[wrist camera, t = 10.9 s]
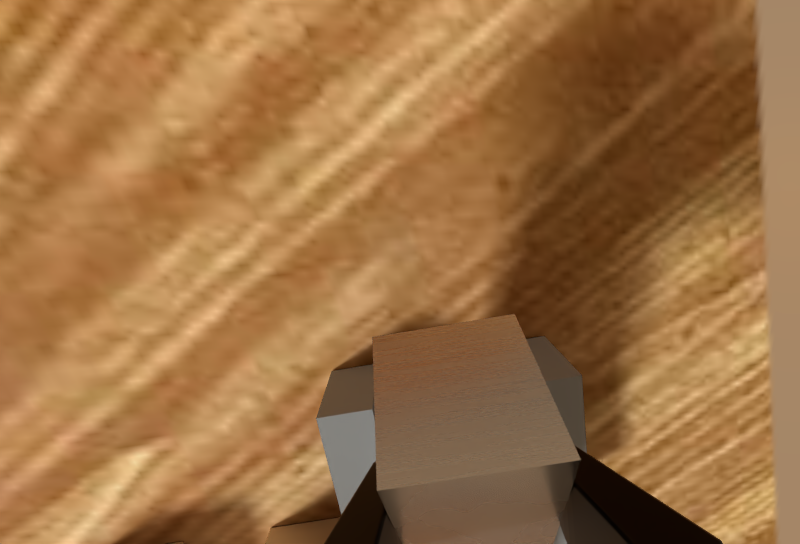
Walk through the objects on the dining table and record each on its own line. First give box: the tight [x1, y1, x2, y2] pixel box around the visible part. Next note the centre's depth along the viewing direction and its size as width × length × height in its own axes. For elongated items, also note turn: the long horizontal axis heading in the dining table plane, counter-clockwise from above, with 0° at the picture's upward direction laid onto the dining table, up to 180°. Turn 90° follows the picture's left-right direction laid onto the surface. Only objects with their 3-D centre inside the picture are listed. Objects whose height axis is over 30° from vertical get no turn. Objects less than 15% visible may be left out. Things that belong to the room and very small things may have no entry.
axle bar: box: [372, 314, 581, 544], centre depth 11 cm, size 13×3×3 cm, turn 10°
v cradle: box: [316, 336, 587, 544], centre depth 14 cm, size 8×7×3 cm
